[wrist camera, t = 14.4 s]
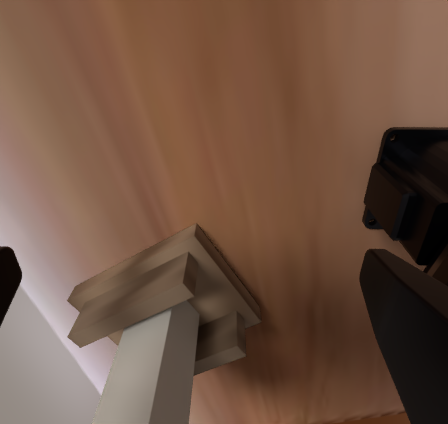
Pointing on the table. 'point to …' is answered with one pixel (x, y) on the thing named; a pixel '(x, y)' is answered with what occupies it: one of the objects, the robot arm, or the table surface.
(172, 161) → the table surface
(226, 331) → the beige rail channel
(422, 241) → the robot arm
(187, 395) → the beige rectangular block
